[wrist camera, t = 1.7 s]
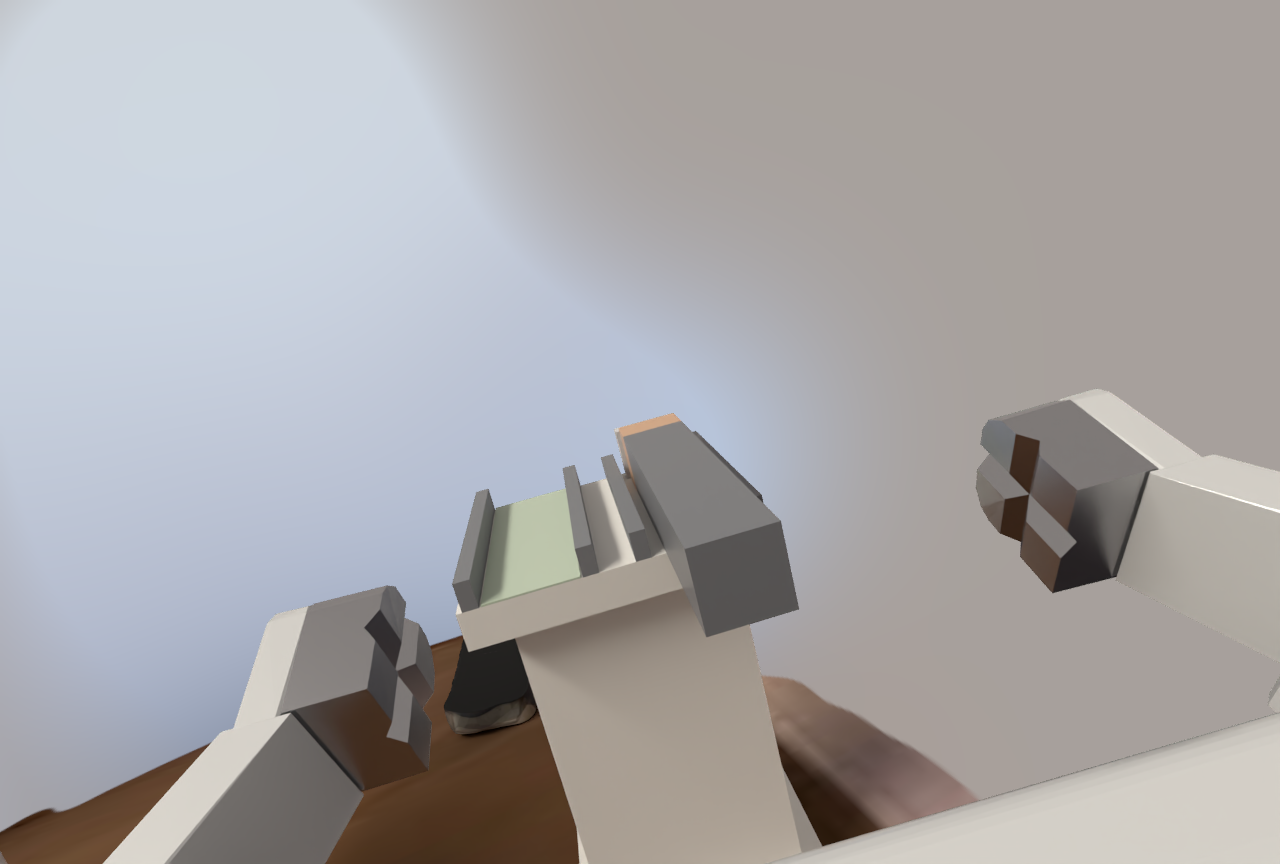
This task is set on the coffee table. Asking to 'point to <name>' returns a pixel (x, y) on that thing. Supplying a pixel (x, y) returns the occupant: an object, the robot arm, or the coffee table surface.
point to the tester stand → (630, 679)
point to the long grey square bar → (709, 527)
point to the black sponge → (489, 689)
